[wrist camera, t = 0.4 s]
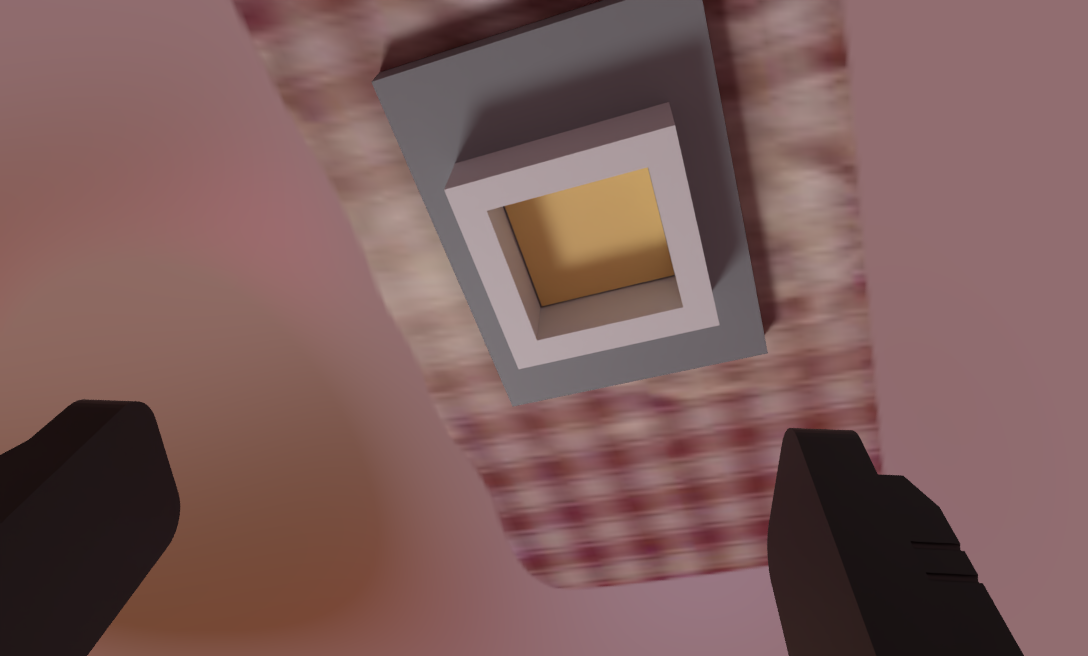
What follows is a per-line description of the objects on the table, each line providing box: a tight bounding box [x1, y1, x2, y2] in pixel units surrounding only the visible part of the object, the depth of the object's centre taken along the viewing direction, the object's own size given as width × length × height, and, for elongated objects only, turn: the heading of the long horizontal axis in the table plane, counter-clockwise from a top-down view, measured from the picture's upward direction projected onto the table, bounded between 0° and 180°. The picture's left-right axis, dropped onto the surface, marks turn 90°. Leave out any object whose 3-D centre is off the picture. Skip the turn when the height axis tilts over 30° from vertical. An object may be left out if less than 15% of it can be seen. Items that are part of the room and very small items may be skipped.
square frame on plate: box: [372, 0, 768, 406], centre depth 30 cm, size 16×12×4 cm
